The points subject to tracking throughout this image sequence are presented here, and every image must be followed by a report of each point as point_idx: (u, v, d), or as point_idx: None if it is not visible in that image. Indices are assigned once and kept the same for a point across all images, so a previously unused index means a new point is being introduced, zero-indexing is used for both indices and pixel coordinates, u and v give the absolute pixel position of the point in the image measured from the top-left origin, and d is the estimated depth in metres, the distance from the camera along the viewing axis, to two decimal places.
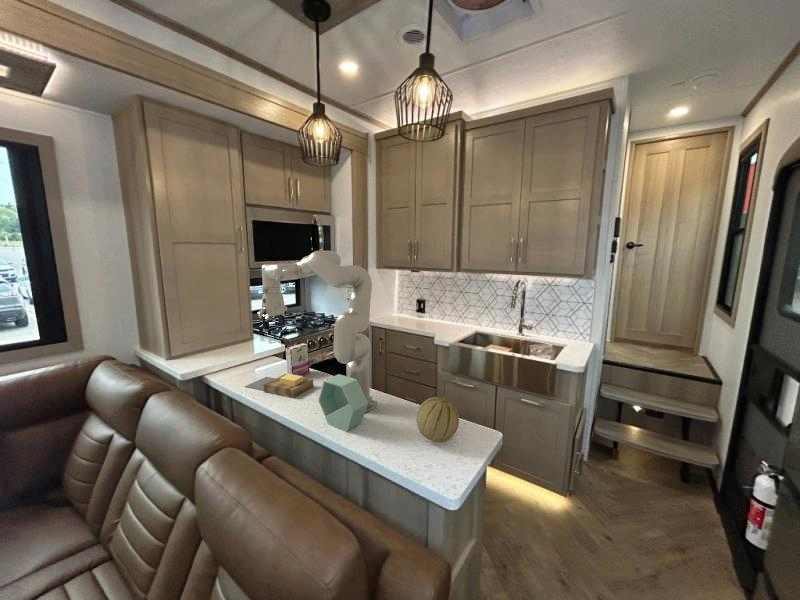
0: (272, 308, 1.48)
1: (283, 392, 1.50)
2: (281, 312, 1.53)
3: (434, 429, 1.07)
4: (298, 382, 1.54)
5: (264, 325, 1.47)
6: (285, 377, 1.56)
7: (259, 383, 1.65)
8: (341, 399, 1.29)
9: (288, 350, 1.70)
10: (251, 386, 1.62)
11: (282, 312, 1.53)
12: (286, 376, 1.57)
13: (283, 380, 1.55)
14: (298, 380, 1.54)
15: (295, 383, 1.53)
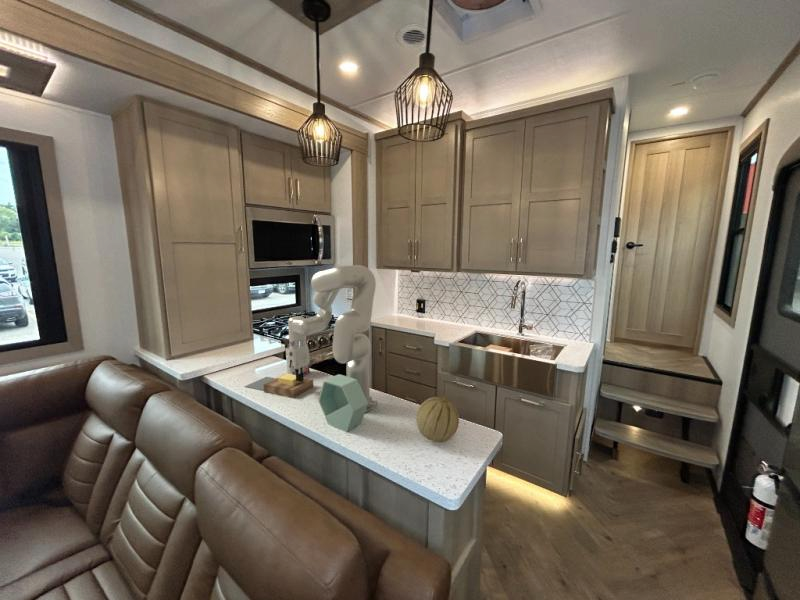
0: (298, 361, 1.49)
1: (283, 392, 1.50)
2: (306, 363, 1.54)
3: (434, 429, 1.07)
4: (296, 382, 1.55)
5: (297, 377, 1.53)
6: (283, 377, 1.57)
7: (259, 383, 1.65)
8: (341, 399, 1.29)
9: (288, 350, 1.70)
10: (251, 386, 1.62)
11: (307, 363, 1.55)
12: (284, 376, 1.58)
13: (281, 380, 1.55)
14: None
15: (293, 383, 1.53)
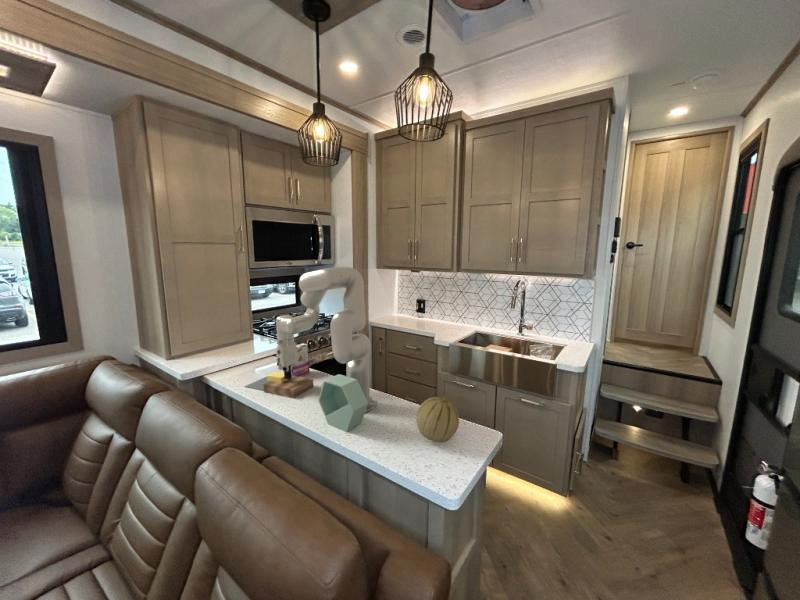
0: (286, 359, 1.52)
1: (283, 392, 1.50)
2: (294, 361, 1.57)
3: (434, 429, 1.07)
4: (285, 379, 1.58)
5: (285, 375, 1.56)
6: (272, 375, 1.60)
7: (259, 383, 1.65)
8: (341, 399, 1.29)
9: None
10: (251, 386, 1.62)
11: (295, 361, 1.58)
12: (273, 374, 1.61)
13: (270, 377, 1.58)
14: None
15: (282, 380, 1.56)
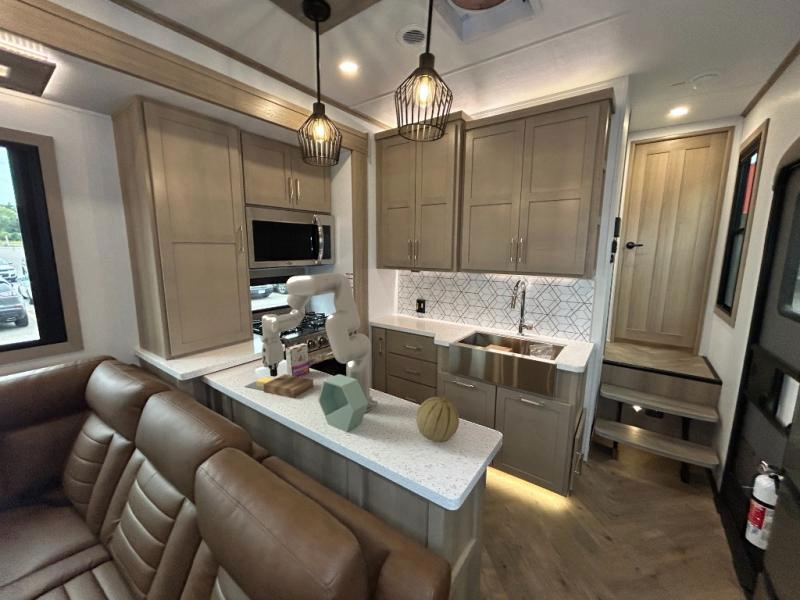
0: (272, 357, 1.56)
1: (283, 392, 1.50)
2: (280, 359, 1.61)
3: (434, 430, 1.07)
4: None
5: (271, 372, 1.59)
6: (261, 380, 1.63)
7: None
8: (341, 399, 1.29)
9: (288, 350, 1.70)
10: (251, 386, 1.62)
11: (281, 359, 1.61)
12: (262, 379, 1.64)
13: (259, 383, 1.61)
14: None
15: None
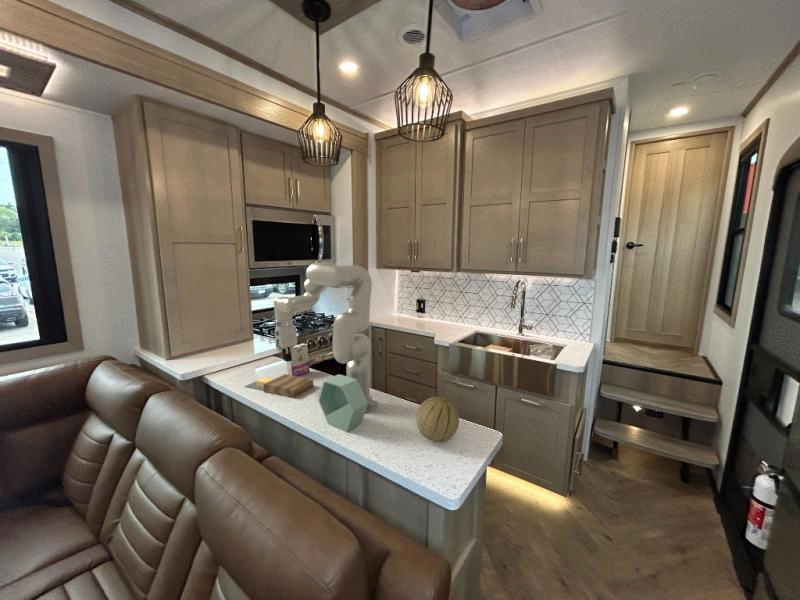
0: (285, 340, 1.51)
1: (283, 392, 1.50)
2: (294, 343, 1.56)
3: (434, 429, 1.07)
4: None
5: (285, 357, 1.54)
6: (261, 380, 1.63)
7: None
8: (341, 399, 1.29)
9: None
10: (251, 386, 1.62)
11: (295, 343, 1.56)
12: (262, 379, 1.64)
13: (259, 383, 1.61)
14: None
15: None
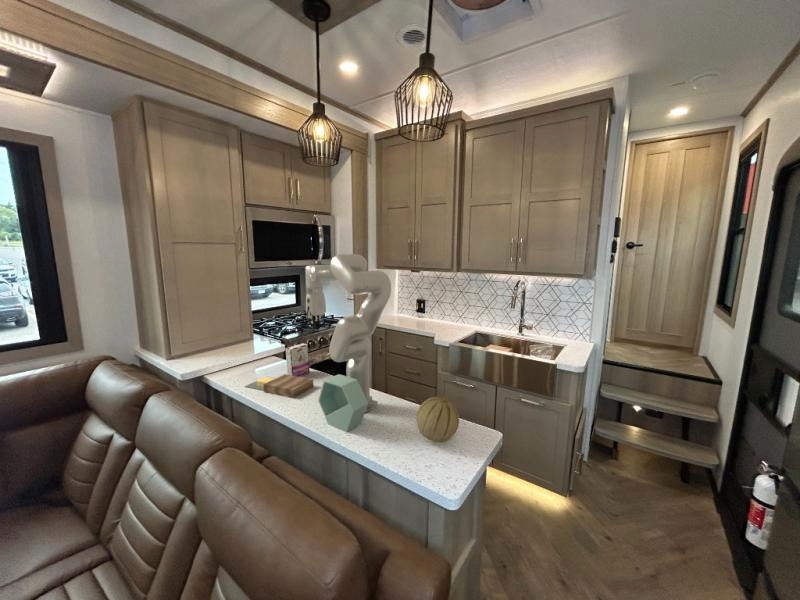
0: (316, 308, 1.52)
1: (283, 392, 1.50)
2: (323, 311, 1.58)
3: (434, 429, 1.07)
4: None
5: (314, 325, 1.56)
6: (261, 380, 1.63)
7: None
8: (341, 399, 1.29)
9: (288, 350, 1.70)
10: (251, 386, 1.62)
11: (324, 311, 1.58)
12: (262, 379, 1.64)
13: (259, 383, 1.61)
14: None
15: None
